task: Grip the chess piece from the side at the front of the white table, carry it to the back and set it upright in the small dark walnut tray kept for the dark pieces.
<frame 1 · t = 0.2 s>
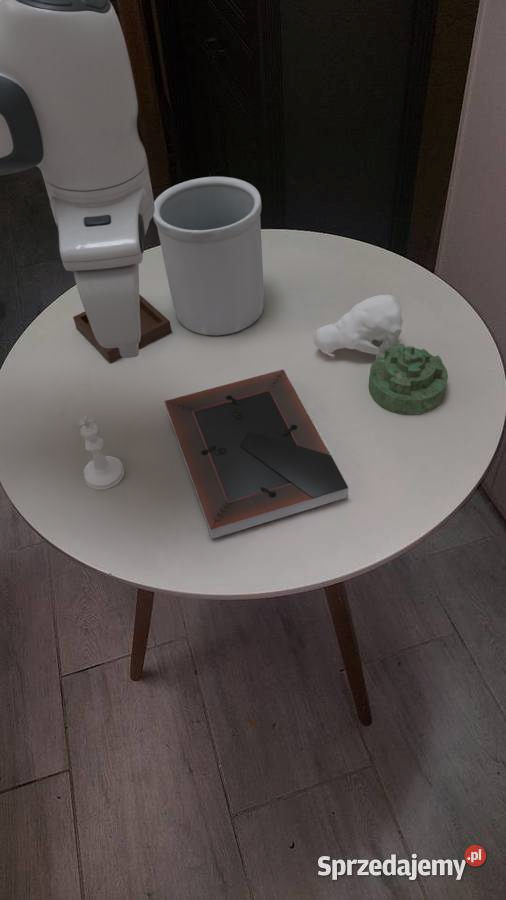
hand: (129, 322, 70), 21 cm above the table, tool pointing down, fingers open, 8 cm apart
decorative artifact: (406, 389, 92), on the table
utensil holder: (218, 308, 105), on the table
chess piece: (104, 475, 84), on the table
picture frame: (251, 454, 85), on the table
white animal figurine: (355, 351, 97), on the table
dark tray: (123, 330, 103), on the table
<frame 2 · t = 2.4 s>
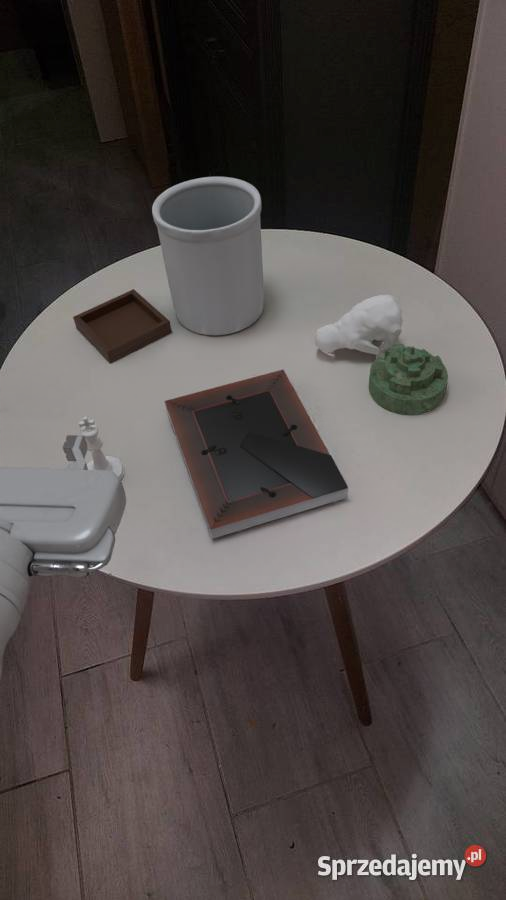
hand: (27, 438, 62), 20 cm above the table, tool horizontal, fingers open, 8 cm apart
nothing on the table moved.
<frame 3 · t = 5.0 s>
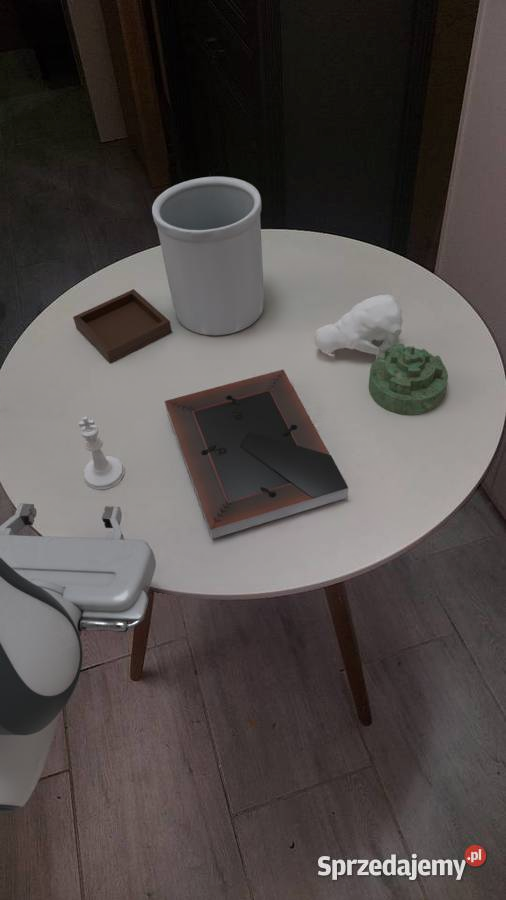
hand: (71, 508, 73), 6 cm above the table, tool horizontal, fingers open, 8 cm apart
nothing on the table moved.
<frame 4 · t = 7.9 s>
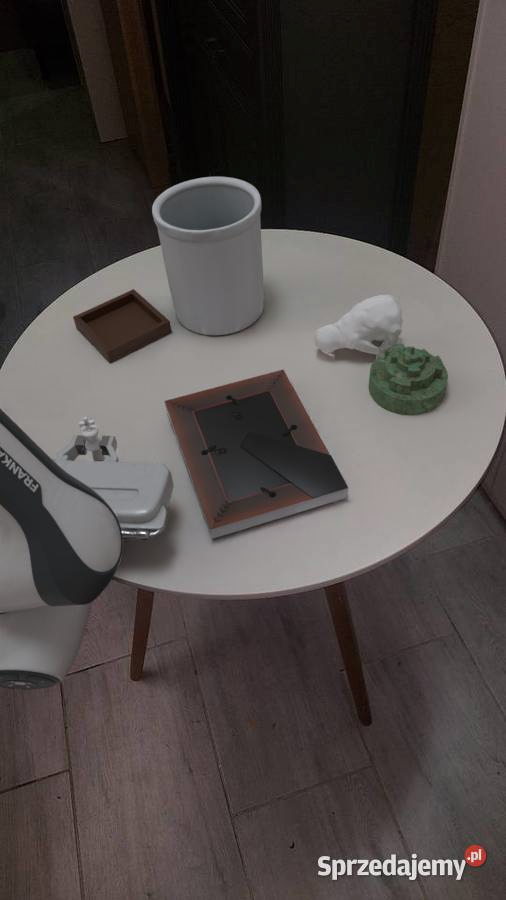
hand: (95, 438, 81), 6 cm above the table, tool horizontal, fingers closed on chess piece
chess piece: (104, 475, 84), on the table, touching gripper
everything else where it was.
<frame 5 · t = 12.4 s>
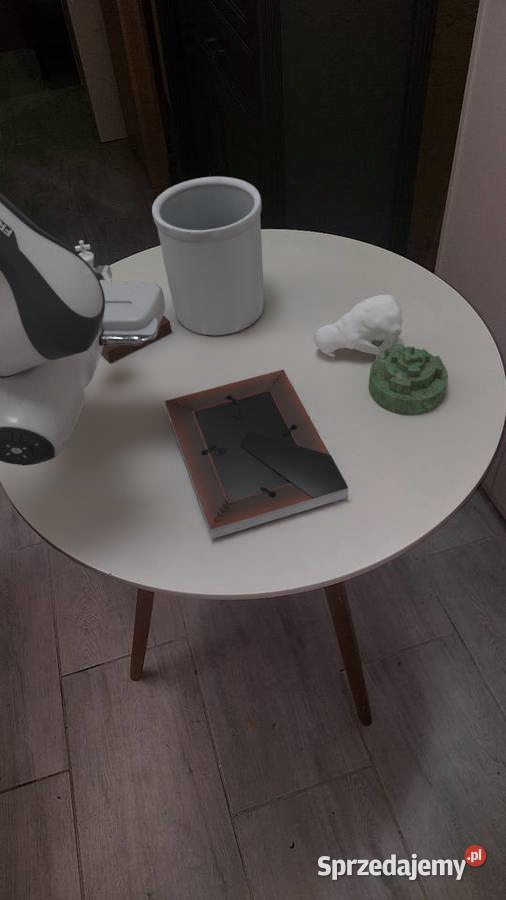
hand: (91, 270, 84), 17 cm above the table, tool horizontal, fingers closed on chess piece
chess piece: (99, 312, 88), point 11 cm above the table, touching gripper
everything else where it was.
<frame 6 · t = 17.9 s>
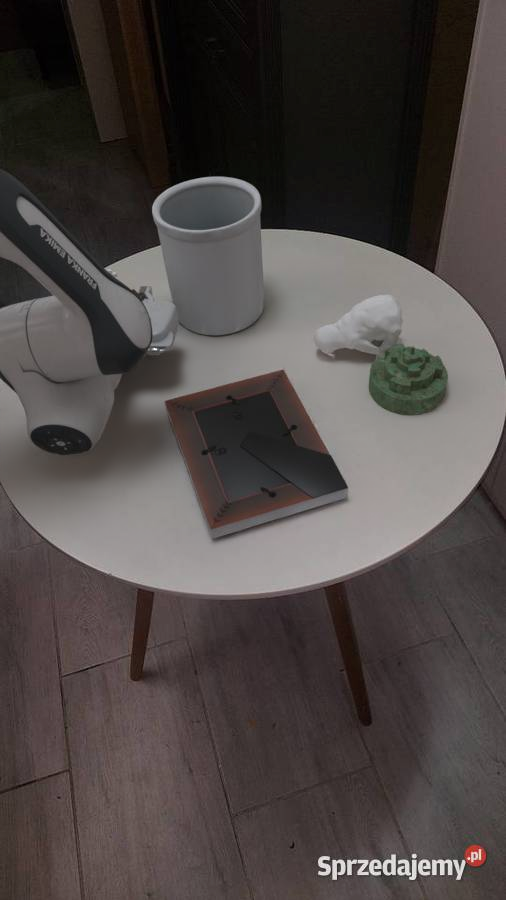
hand: (114, 289, 98), 7 cm above the table, tool horizontal, fingers open, 8 cm apart
chess piece: (123, 328, 102), resting on dark tray
everything else where it was.
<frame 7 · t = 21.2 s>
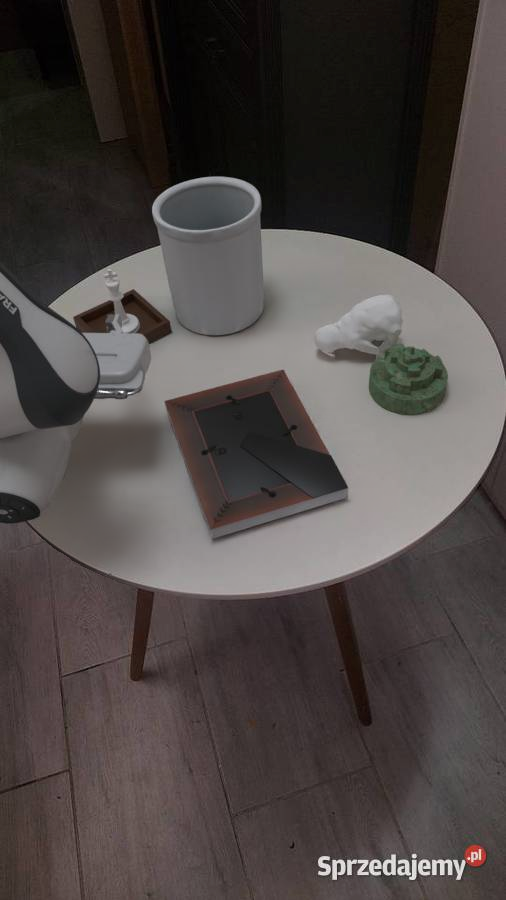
hand: (78, 318, 85), 13 cm above the table, tool horizontal, fingers open, 8 cm apart
nothing on the table moved.
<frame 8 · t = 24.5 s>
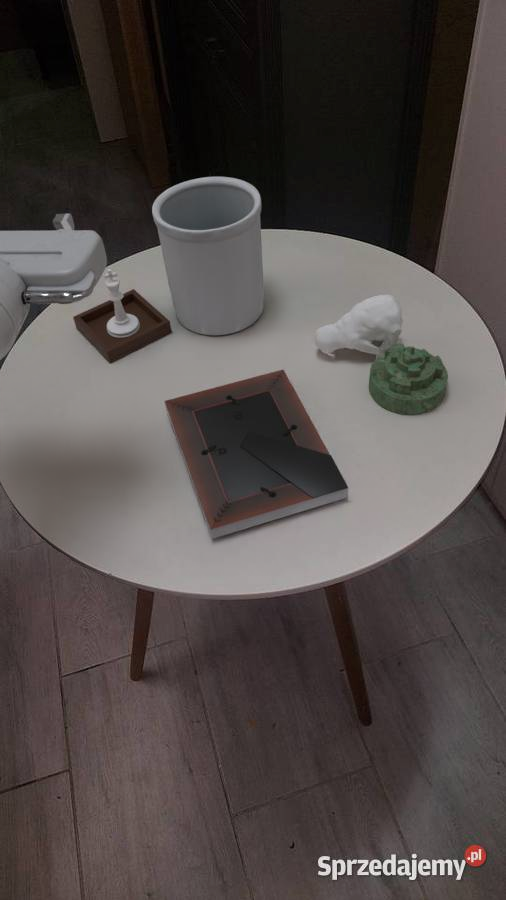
hand: (22, 220, 71), 28 cm above the table, tool horizontal, fingers open, 8 cm apart
nothing on the table moved.
at the end: chess piece 0.1 cm off-centre in the dark tray, point 0.4 cm above the dark tray's base; chess piece tilted 0°; the gripper is holding nothing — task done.
